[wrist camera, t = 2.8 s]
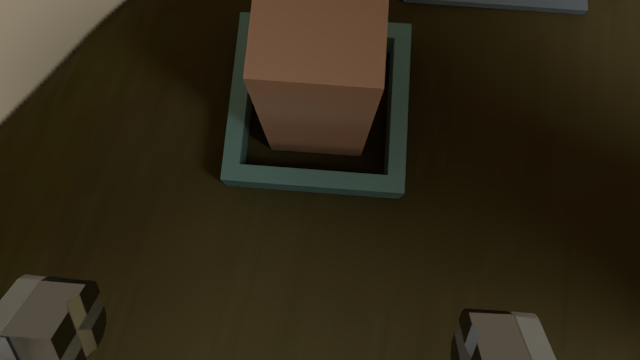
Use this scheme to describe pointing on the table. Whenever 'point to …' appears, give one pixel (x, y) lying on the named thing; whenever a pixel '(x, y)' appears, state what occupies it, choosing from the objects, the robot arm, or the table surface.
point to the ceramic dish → (322, 180)
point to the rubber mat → (518, 5)
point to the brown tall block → (316, 72)
